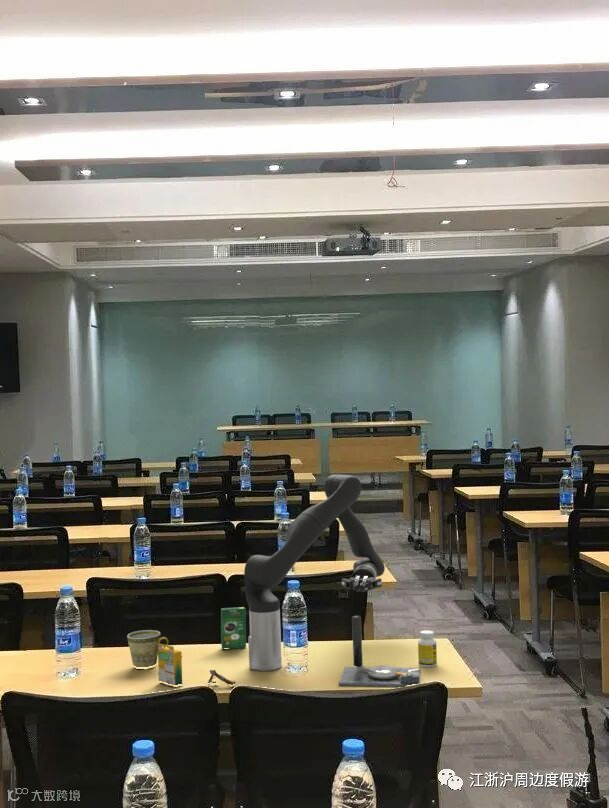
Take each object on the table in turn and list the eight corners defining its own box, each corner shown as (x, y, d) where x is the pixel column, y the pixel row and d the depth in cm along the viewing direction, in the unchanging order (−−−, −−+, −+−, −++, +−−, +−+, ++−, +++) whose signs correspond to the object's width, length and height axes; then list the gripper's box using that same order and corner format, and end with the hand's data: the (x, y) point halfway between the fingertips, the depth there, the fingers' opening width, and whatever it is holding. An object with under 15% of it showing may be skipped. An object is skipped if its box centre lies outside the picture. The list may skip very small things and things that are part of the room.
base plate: (338, 685, 236) (338, 671, 236) (345, 669, 251) (344, 656, 251) (419, 687, 232) (418, 672, 233) (420, 670, 247) (420, 657, 247)
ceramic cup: (122, 671, 257) (121, 638, 257) (136, 661, 266) (135, 629, 267) (162, 673, 254) (161, 639, 254) (175, 663, 263) (174, 630, 264)
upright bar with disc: (416, 675, 240) (414, 620, 240) (399, 683, 233) (397, 627, 233) (363, 664, 252) (361, 613, 252) (345, 672, 245) (343, 619, 245)
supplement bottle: (436, 668, 249) (435, 634, 249) (418, 667, 250) (416, 634, 250) (437, 662, 254) (436, 629, 255) (419, 662, 256) (418, 629, 256)
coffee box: (245, 645, 281) (244, 605, 281) (247, 648, 278) (245, 607, 278) (221, 648, 279) (219, 607, 279) (222, 650, 276) (221, 609, 276)
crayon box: (183, 685, 241) (181, 644, 241) (174, 688, 239) (173, 646, 239) (166, 680, 246) (165, 640, 246) (158, 683, 244) (157, 642, 244)
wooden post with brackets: (206, 681, 242) (212, 667, 241) (230, 694, 239) (236, 680, 239) (204, 683, 240) (209, 668, 239) (227, 696, 238) (233, 682, 237)
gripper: (343, 566, 277) (336, 576, 260) (384, 565, 275) (380, 576, 258) (344, 589, 277) (337, 600, 260) (385, 589, 275) (381, 601, 258)
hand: (358, 588), depth 259 cm, fingers closed
